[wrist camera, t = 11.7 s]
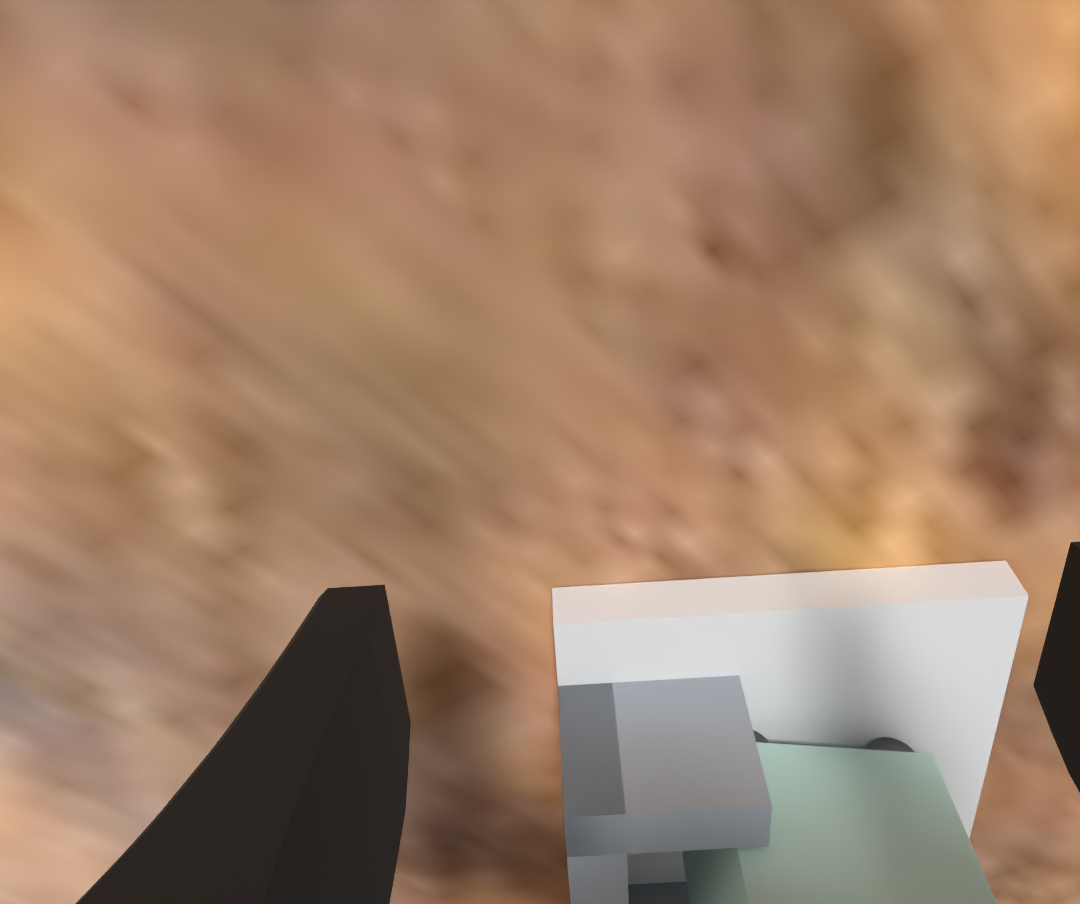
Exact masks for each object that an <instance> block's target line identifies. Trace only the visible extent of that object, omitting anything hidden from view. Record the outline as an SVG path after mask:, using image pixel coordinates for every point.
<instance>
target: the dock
mask: <svg viewBox="0 0 1080 904" xmlns="http://www.w3.org/2000/svg"><path fill="white" fill-rule="evenodd" d="M1028 597H1029V596H1028V594H1027V593H1026V591H1025V589H1024V588H1023V586H1022V585H1021V583H1020V582H1019V580H1018V579H1017V577H1016V576H1015V574H1014V573H1013V571H1012V569H1011V568H1010V566H1009V565H1008V563H1007V562H1006V561H990V562H974V563H957V564H940V565H924V566H907V567H891V568H874V569H858V570H841V571H825V572H808V573H792V574H775V575H759V576H742V577H726V578H709V579H693V580H676V581H660V582H643V583H627V584H610V585H594V586H577V587H561V588H552V602H553V626H554V639H555V652H556V665H557V678H558V695H559V719H560V743H561V767H562V790H563V814H564V828H565V841H566V853H567V866H568V878H569V890H570V903H571V904H690V902H689V896H688V889H687V883H686V876H685V870H684V863H683V857H682V853H683V851H689V850H708V849H726V848H744V847H762V846H769V837H770V825H771V813H772V804H771V800H770V796H769V792H768V788H767V784H766V780H765V776H764V772H763V768H762V764H761V760H760V756H759V752H758V748H757V744H756V740H755V736H754V732H753V730H754V731H756V732H758V733H760V734H761V735H763V736H764V737H765V738H766V739H767V740H768V742H769V743H776V744H791V745H807V746H822V747H837V748H853V749H868V750H869V747H870V745H871V743H872V742H873V741H874V740H875V739H877V738H881V737H890V738H894V739H897V740H900V741H902V742H904V743H905V744H907V745H908V746H909V747H911V748H912V749H913V751H914V752H915V753H930V754H932V755H933V757H934V760H935V762H936V764H937V766H938V769H939V771H940V773H941V776H942V778H943V780H944V782H945V785H946V787H947V789H948V792H949V794H950V796H951V799H952V801H953V803H954V805H955V808H956V810H957V812H958V815H959V817H960V819H961V821H962V824H963V826H964V828H965V831H966V833H967V835H968V838H969V839H970V834H971V830H972V826H973V822H974V818H975V814H976V810H977V806H978V802H979V798H980V794H981V789H982V785H983V781H984V777H985V773H986V769H987V765H988V761H989V757H990V753H991V748H992V744H993V740H994V736H995V732H996V728H997V724H998V720H999V716H1000V712H1001V707H1002V703H1003V699H1004V695H1005V691H1006V687H1007V683H1008V679H1009V675H1010V671H1011V666H1012V662H1013V658H1014V654H1015V650H1016V646H1017V642H1018V638H1019V634H1020V630H1021V625H1022V621H1023V617H1024V613H1025V609H1026V605H1027V601H1028Z"/></svg>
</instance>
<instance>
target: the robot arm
mask: <svg viewBox="0 0 1080 904" xmlns="http://www.w3.org/2000/svg"><path fill="white" fill-rule="evenodd" d="M1034 688H1035V690H1036V693H1037V696H1038V698H1039V701H1040V703H1041V706H1042V709H1043V711H1044V714H1045V716H1046V719H1047V721H1048V724H1049V727H1050V729H1051V732H1052V734H1053V737H1054V739H1055V741H1056V744H1057V746H1058V748H1059V751H1060V753H1061V755H1062V758H1063V760H1064V762H1065V765H1066V767H1067V769H1068V772H1069V774H1070V776H1071V777H1072V779H1073V781H1074V783H1075V785H1076V787H1077V788H1078V790H1079V792H1080V542H1071V544H1070V547H1069V551H1068V555H1067V559H1066V563H1065V567H1064V570H1063V574H1062V578H1061V582H1060V586H1059V590H1058V593H1057V597H1056V601H1055V605H1054V609H1053V612H1052V616H1051V620H1050V624H1049V628H1048V632H1047V635H1046V639H1045V643H1044V647H1043V651H1042V655H1041V658H1040V662H1039V666H1038V670H1037V674H1036V677H1035V681H1034ZM409 741H410V717H409V712H408V706H407V701H406V696H405V690H404V685H403V680H402V674H401V669H400V664H399V658H398V653H397V648H396V643H395V637H394V632H393V627H392V621H391V616H390V611H389V605H388V600H387V595H386V590H385V585H374V586H357V587H341V588H328V589H327V590H326V591H325V592H324V593H323V594H322V595H321V596H320V597H319V598H318V600H317V601H316V603H315V604H314V606H313V607H312V609H311V611H310V612H309V614H308V615H307V617H306V618H305V620H304V621H303V623H302V624H301V626H300V627H299V629H298V630H297V632H296V633H295V635H294V636H293V638H292V639H291V641H290V642H289V644H288V645H287V647H286V648H285V650H284V651H283V653H282V654H281V656H280V657H279V658H278V660H277V661H276V663H275V664H274V666H273V667H272V668H271V670H270V671H269V673H268V674H267V676H266V677H265V679H264V680H263V681H262V683H261V684H260V686H259V687H258V688H257V690H256V691H255V692H254V694H253V695H252V696H251V698H250V699H249V700H248V702H247V703H246V705H245V706H244V707H243V709H242V710H241V711H240V713H239V714H238V715H237V717H236V718H235V719H234V721H233V722H232V723H231V725H230V726H229V728H228V729H227V730H226V732H225V733H224V734H223V736H222V737H221V738H220V740H219V741H218V742H217V743H216V745H215V746H214V747H213V749H212V750H211V751H210V752H209V754H208V755H207V756H206V757H205V758H204V760H203V761H202V762H201V763H200V765H199V766H198V767H197V768H196V769H195V771H194V772H193V773H192V774H191V776H190V777H189V778H188V779H187V780H186V782H185V783H184V784H183V785H182V786H181V788H180V789H179V790H178V791H177V793H176V794H175V795H174V796H173V797H172V799H171V800H170V801H169V802H168V804H167V805H166V806H165V807H164V808H163V810H162V811H161V812H160V813H159V814H158V815H157V817H156V818H155V819H154V820H153V821H152V822H151V823H150V825H149V826H148V827H147V828H146V829H145V830H144V831H143V832H142V834H141V835H140V836H139V837H138V838H137V839H136V840H135V841H134V843H133V844H132V845H131V846H130V847H129V848H128V849H127V850H126V851H125V852H124V854H123V855H122V856H121V857H120V858H119V859H118V860H117V861H116V862H115V863H114V864H113V865H112V866H111V867H110V868H109V870H108V871H107V872H106V873H105V874H104V875H103V876H102V877H101V878H100V879H99V880H98V881H97V882H96V883H95V884H94V885H93V886H92V887H91V888H90V889H89V890H88V891H87V892H86V894H85V895H84V896H83V897H82V898H81V899H80V900H79V901H78V902H77V903H76V904H389V903H390V897H391V891H392V886H393V880H394V874H395V868H396V863H397V857H398V851H399V845H400V839H401V834H402V828H403V822H404V816H405V807H406V792H407V777H408V760H409Z"/></svg>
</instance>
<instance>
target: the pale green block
mask: <svg viewBox="0 0 1080 904" xmlns="http://www.w3.org/2000/svg"><path fill="white" fill-rule="evenodd" d="M753 732H754V736H755V740H756V744H757V748H758V752H759V756H760V760H761V764H762V768H763V772H764V776H765V780H766V784H767V788H768V792H769V796H770V800H771V804H772V813H771V825H770V837H769V846H762V847H744V848H726V849H708V850H689V851H683V853H682V857H683V863H684V870H685V876H686V883H687V889H688V896H689V902H690V904H997V902H996V899H995V897H994V895H993V893H992V890H991V888H990V886H989V883H988V881H987V879H986V877H985V874H984V872H983V870H982V867H981V865H980V863H979V860H978V858H977V856H976V854H975V851H974V849H973V847H972V844H971V842H970V840H969V838H968V835H967V833H966V831H965V828H964V826H963V824H962V821H961V819H960V817H959V815H958V812H957V810H956V808H955V805H954V803H953V801H952V799H951V796H950V794H949V792H948V789H947V787H946V785H945V782H944V780H943V778H942V776H941V773H940V771H939V769H938V766H937V764H936V762H935V760H934V757H933V755H932V754H930V753H915V752H914V751H913V749H912V748H911V747H909V746H908V745H907V744H905V743H904V742H902V741H900V740H897V739H894V738H890V737H881V738H877V739H875V740H874V741H873V742H872V743H871V745H870V747H869V750H868V749H853V748H837V747H822V746H807V745H791V744H776V743H769V742H768V740H767V739H766V738H765V737H764V736H763V735H761V734H760V733H758V732H756V731H754V730H753Z"/></svg>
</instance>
